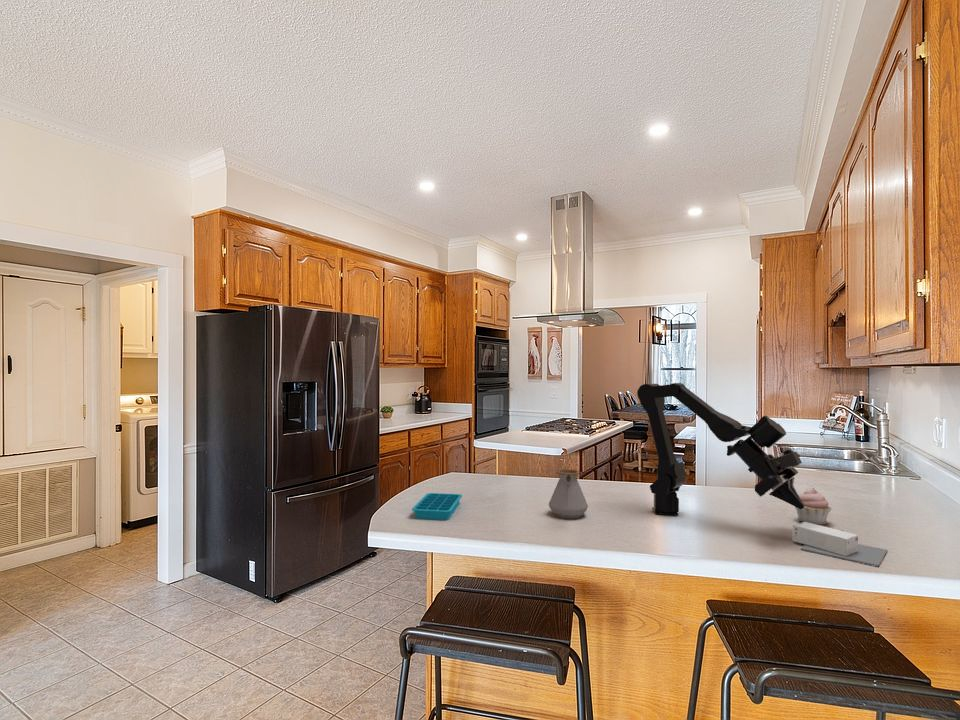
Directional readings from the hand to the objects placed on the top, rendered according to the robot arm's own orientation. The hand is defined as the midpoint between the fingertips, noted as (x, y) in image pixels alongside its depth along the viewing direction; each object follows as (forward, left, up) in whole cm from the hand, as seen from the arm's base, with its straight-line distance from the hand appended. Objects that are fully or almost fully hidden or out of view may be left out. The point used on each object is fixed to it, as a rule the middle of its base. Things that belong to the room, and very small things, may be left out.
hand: (803, 508), depth 131 cm
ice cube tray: (-98, +10, -9) cm, 99 cm away
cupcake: (+10, +19, -9) cm, 23 cm away
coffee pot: (-59, +8, -9) cm, 60 cm away
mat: (+7, -5, -9) cm, 12 cm away
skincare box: (-1, +1, -6) cm, 6 cm away
